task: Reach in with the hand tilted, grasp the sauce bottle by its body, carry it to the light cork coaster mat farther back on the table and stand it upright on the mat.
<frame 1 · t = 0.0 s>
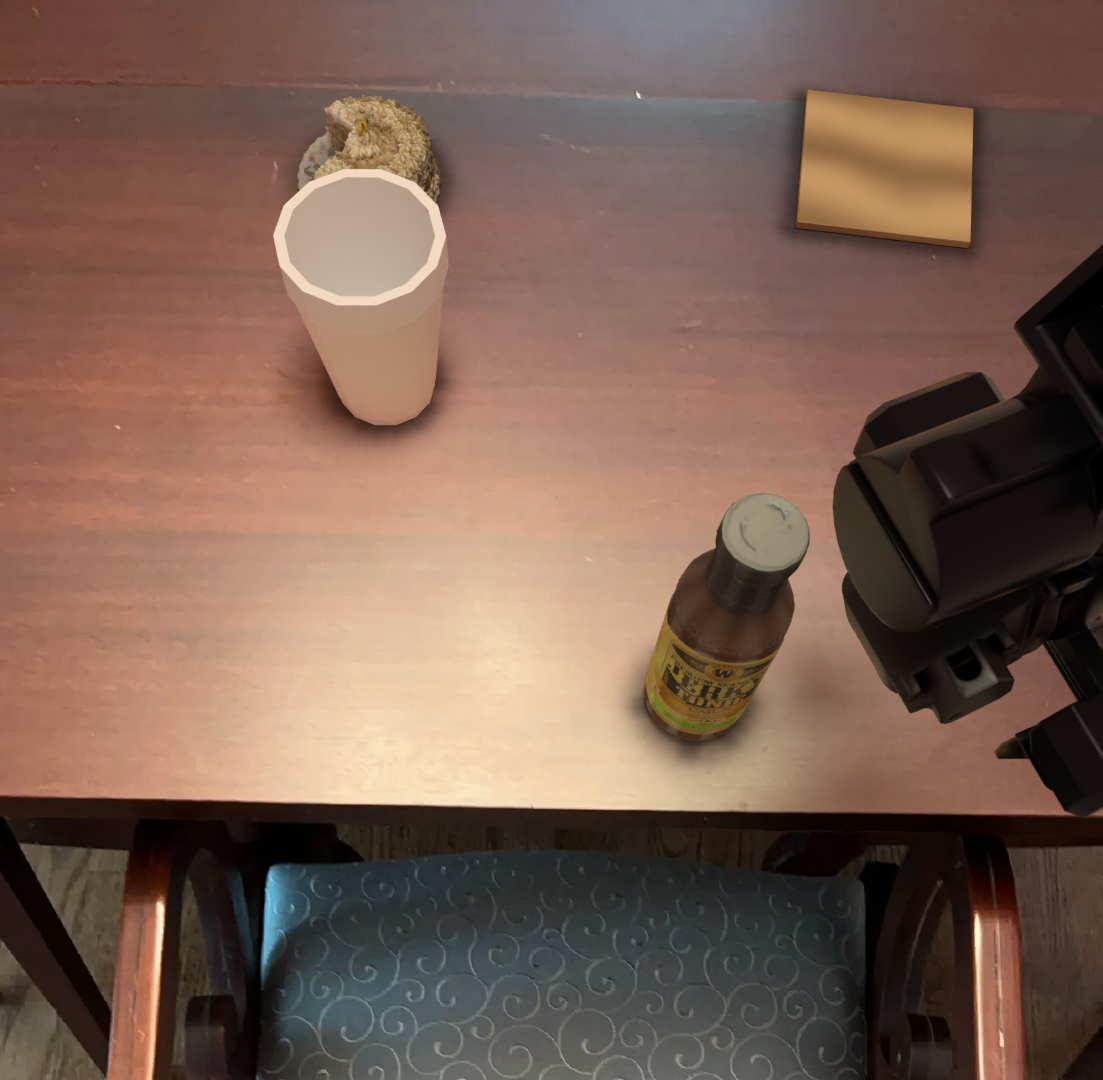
hand: (955, 667, 55), 15 cm above the table, tool pointing down, fingers open, 9 cm apart
sauce bottle: (694, 699, 71), on the table
cork mat: (884, 170, 83), on the table
foam cup: (387, 386, 77), on the table
cake: (370, 184, 82), on the table
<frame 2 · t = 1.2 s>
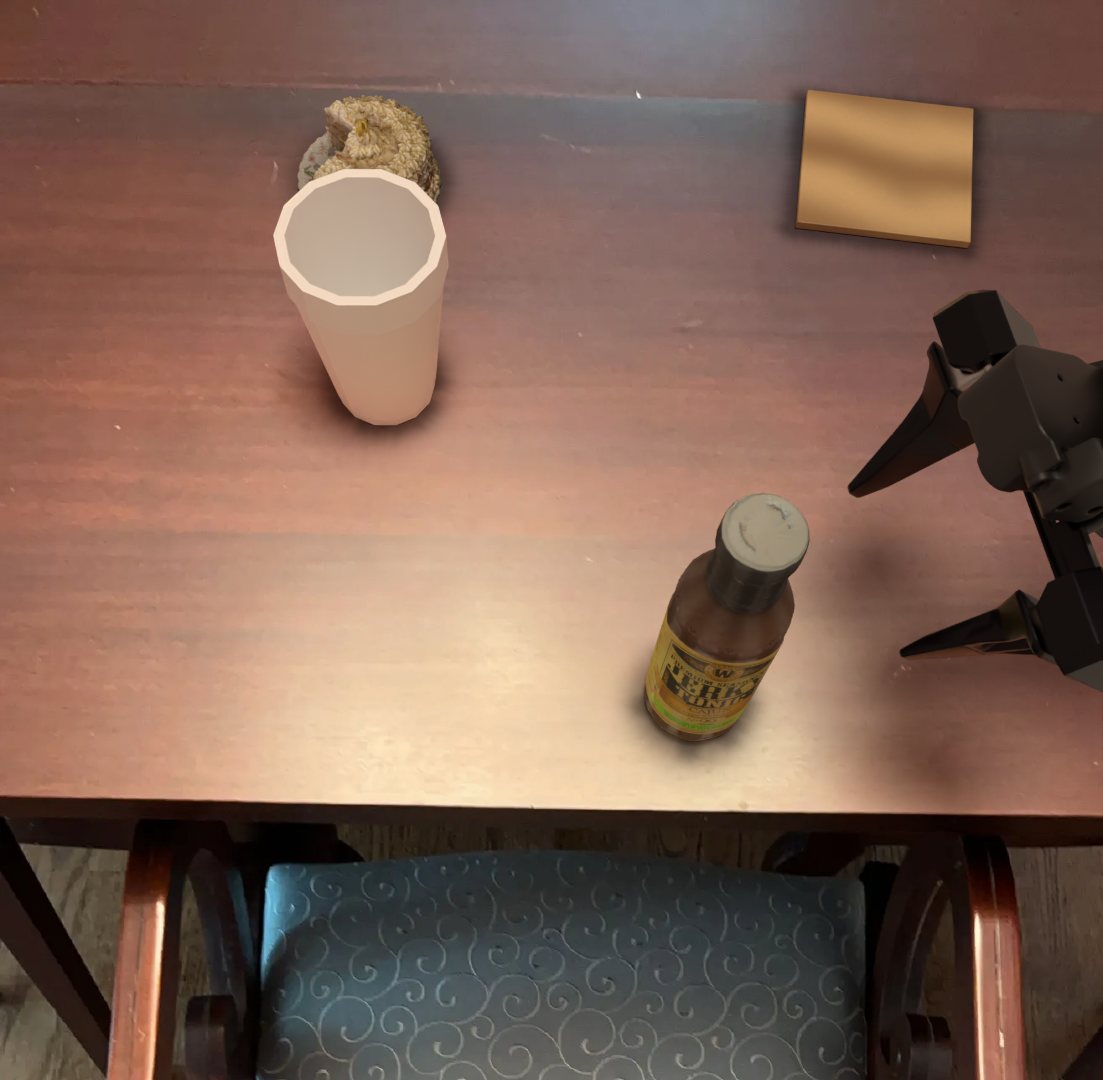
hand: (876, 572, 58), 13 cm above the table, tool tilted 45°, fingers open, 9 cm apart
nothing on the table moved.
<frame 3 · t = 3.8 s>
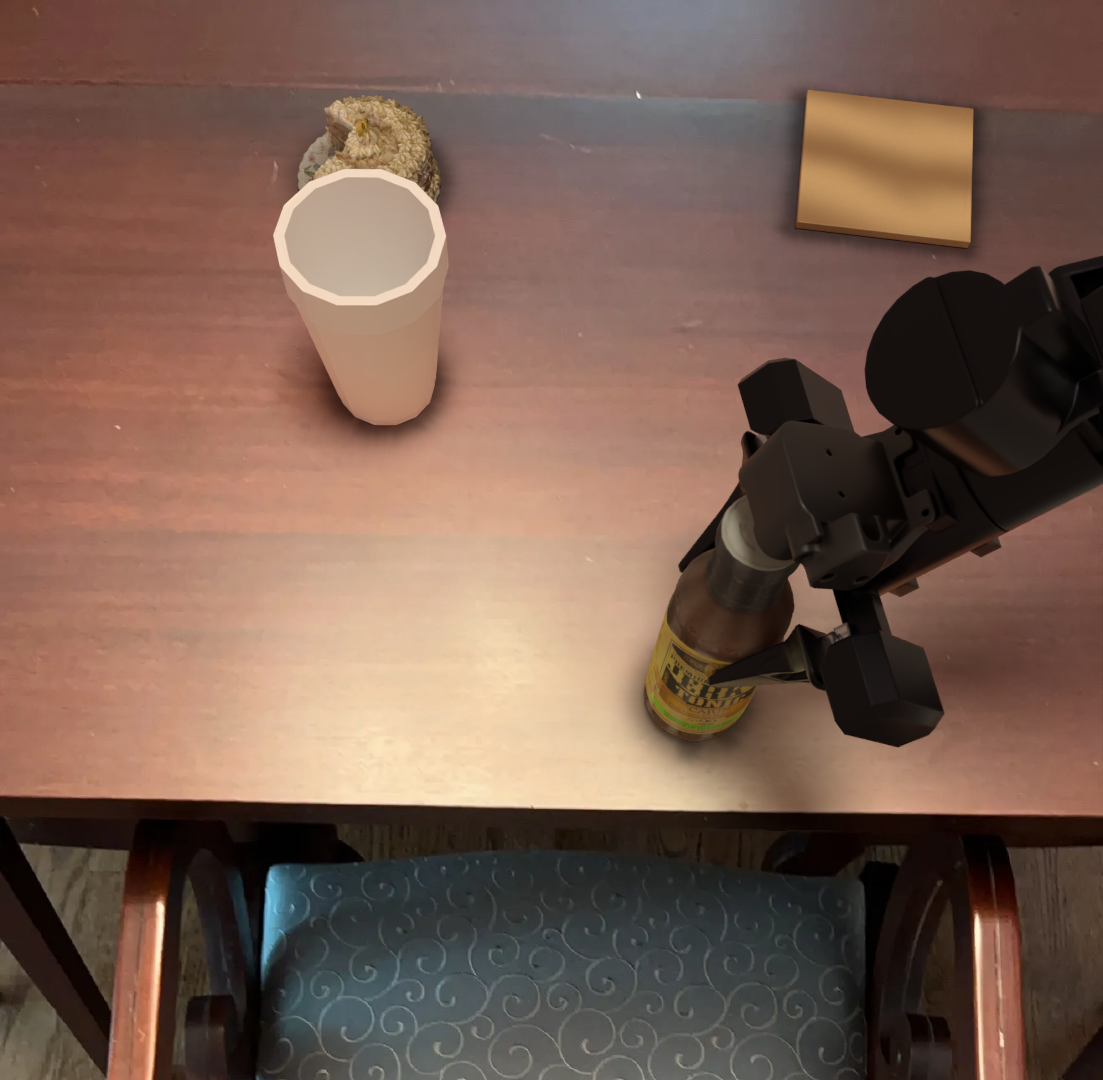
hand: (697, 625, 60), 11 cm above the table, tool tilted 45°, fingers closed on sauce bottle, 6 cm apart
sauce bottle: (694, 699, 71), on the table, touching gripper
everything else where it was.
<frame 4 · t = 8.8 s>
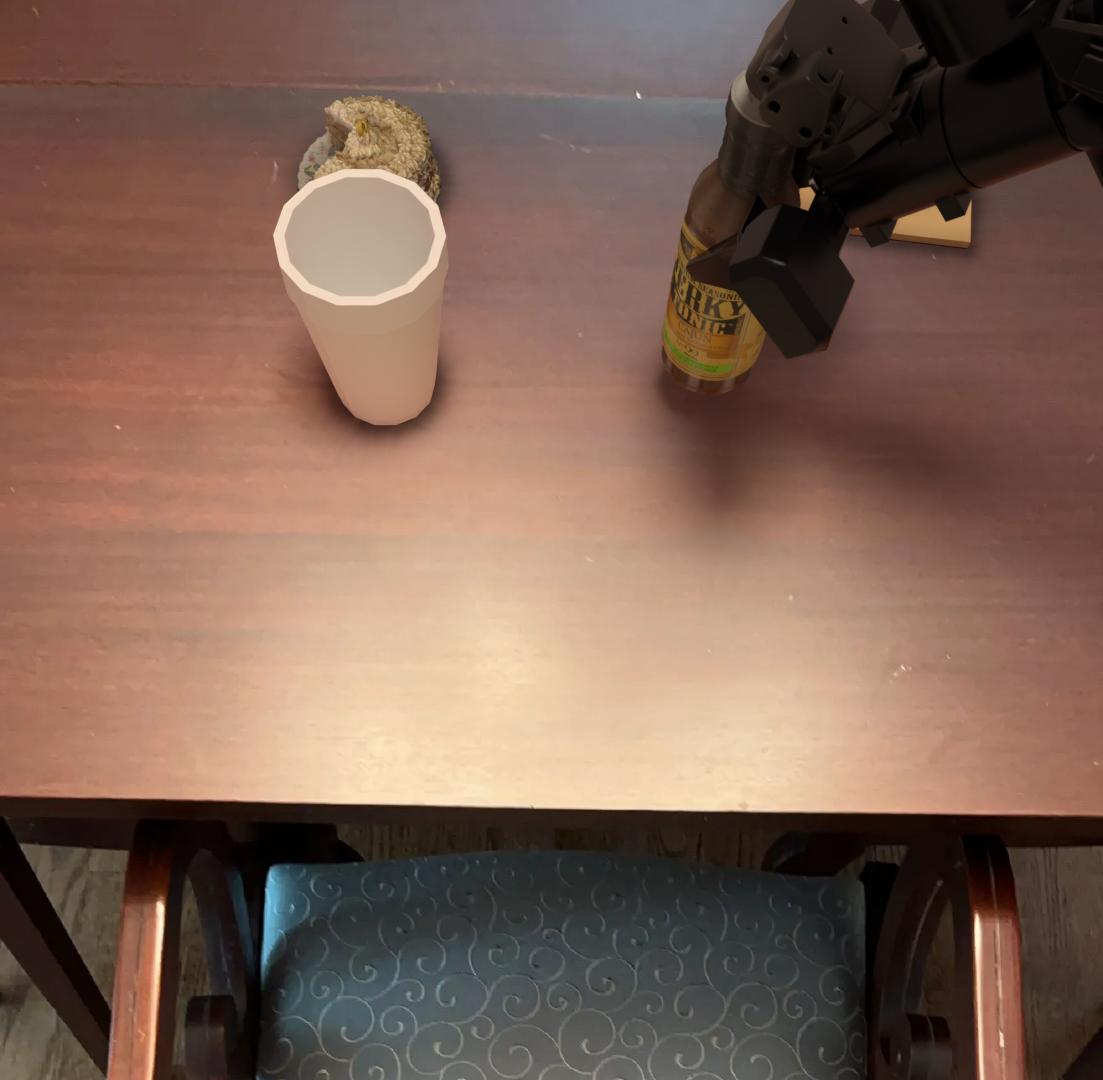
hand: (712, 228, 65), 13 cm above the table, tool tilted 45°, fingers closed on sauce bottle, 6 cm apart
sauce bottle: (708, 363, 75), point 2 cm above the table, touching gripper
everything else where it was.
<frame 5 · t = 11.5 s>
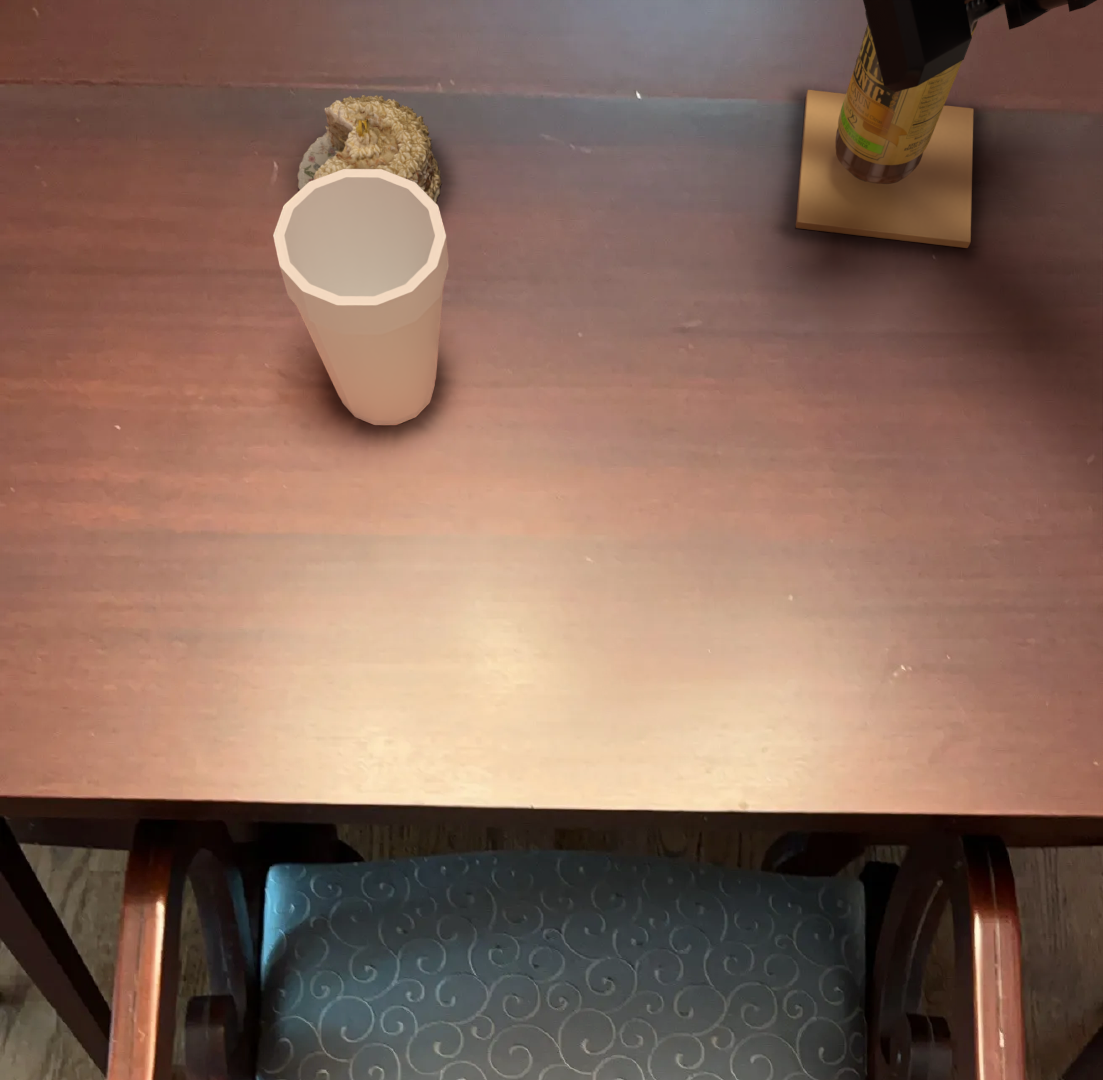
sauce bottle: (875, 158, 80), point 2 cm above the table, touching gripper
everything else where it was.
when the fingers open (11 cm above the table, at t = 13.8 s): sauce bottle stays where it is, resting on cork mat.
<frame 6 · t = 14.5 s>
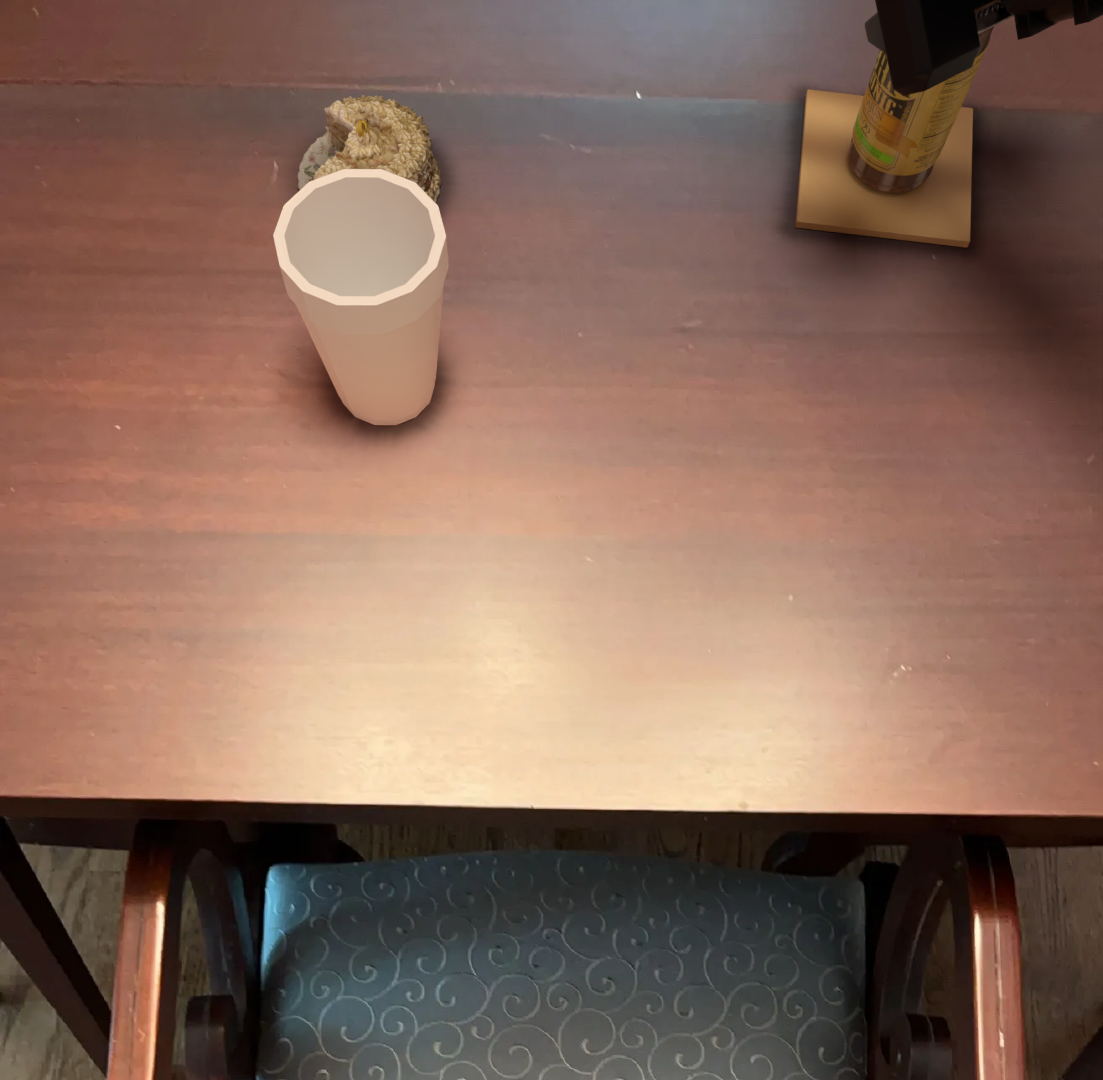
hand: (927, 2, 72), 12 cm above the table, tool tilted 45°, fingers open, 9 cm apart
sauce bottle: (887, 167, 83), resting on cork mat
cork mat: (884, 170, 83), on the table, touching sauce bottle
everything else where it was.
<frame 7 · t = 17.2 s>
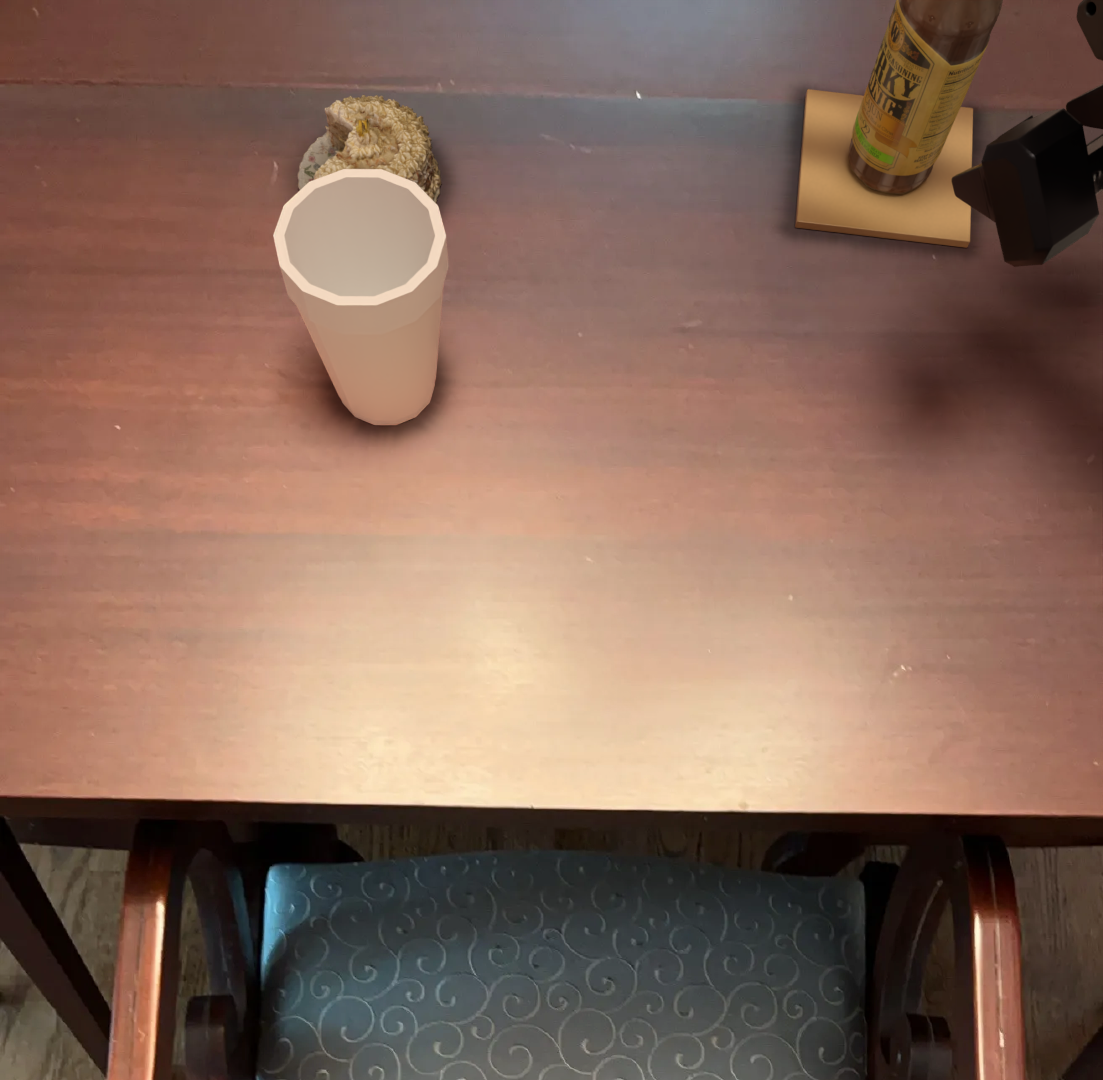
hand: (1012, 148, 67), 13 cm above the table, tool tilted 45°, fingers open, 9 cm apart
nothing on the table moved.
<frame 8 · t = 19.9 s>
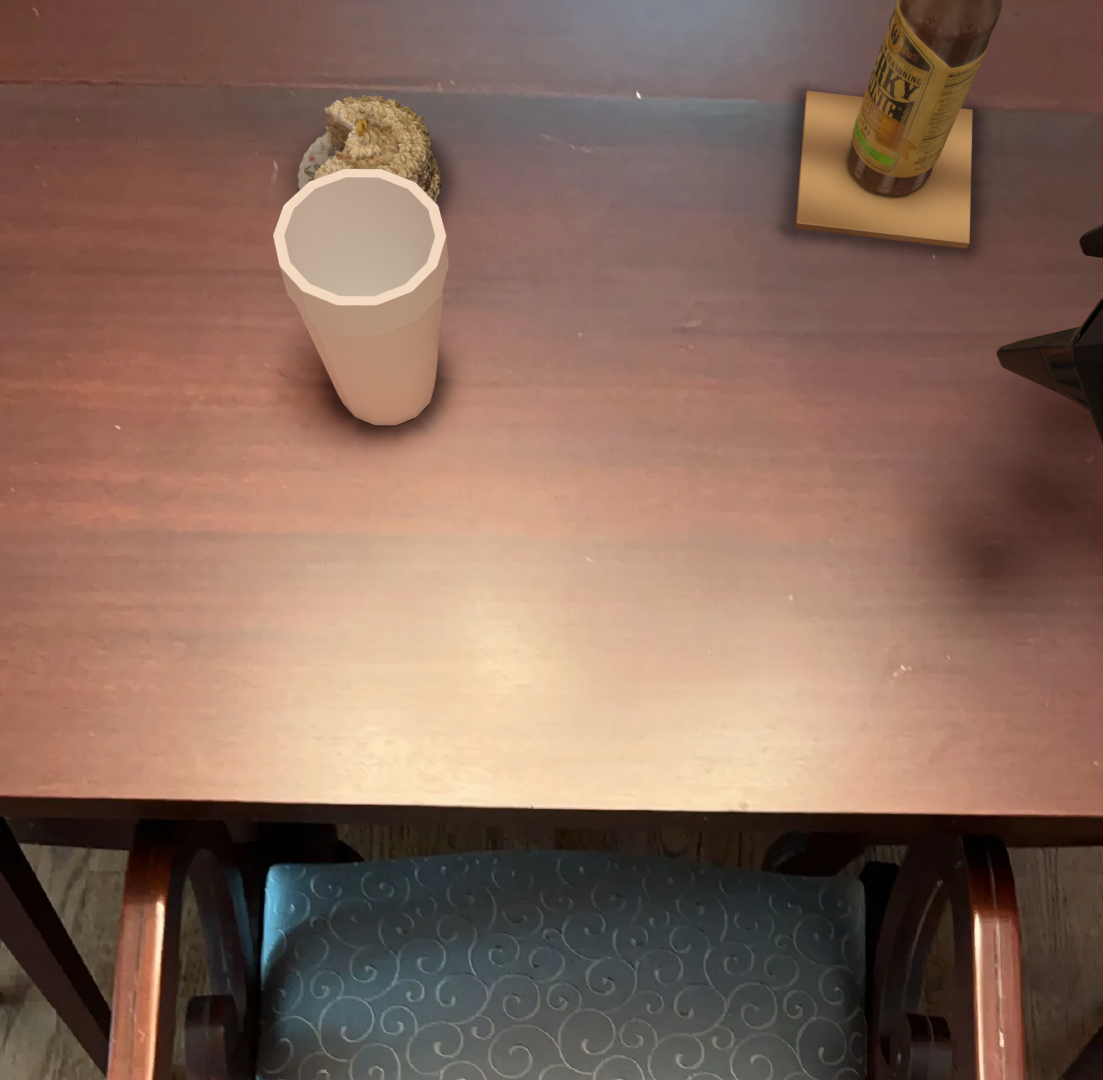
hand: (1041, 300, 63), 14 cm above the table, tool tilted 45°, fingers open, 9 cm apart
nothing on the table moved.
at the end: sauce bottle inside the target area on the cork mat (0.2 cm from its centre), point 0.4 cm above the cork mat's base; sauce bottle tilted 0°; the gripper is holding nothing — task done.
